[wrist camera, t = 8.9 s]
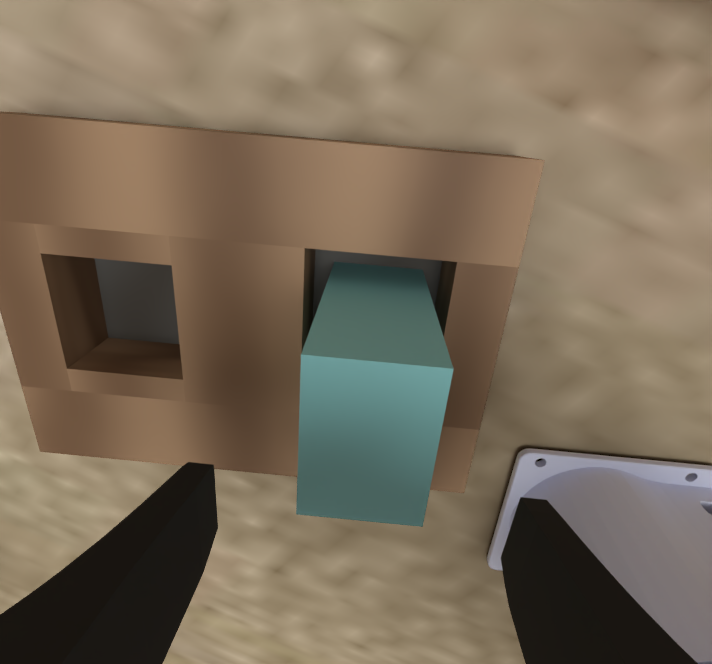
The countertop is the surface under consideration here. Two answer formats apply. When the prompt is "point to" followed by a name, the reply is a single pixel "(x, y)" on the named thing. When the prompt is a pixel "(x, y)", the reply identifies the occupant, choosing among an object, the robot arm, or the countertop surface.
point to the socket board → (233, 278)
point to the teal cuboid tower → (371, 397)
